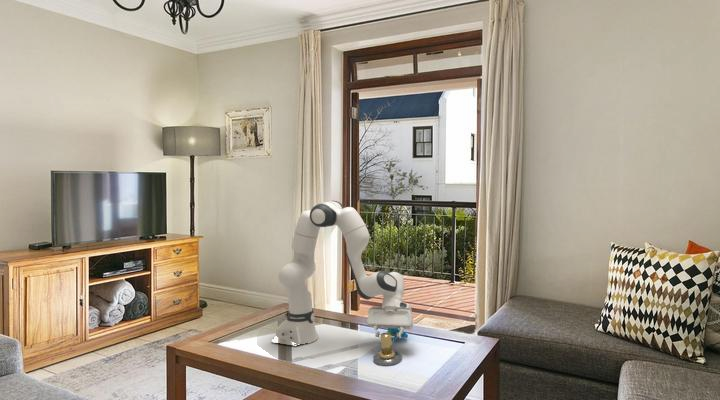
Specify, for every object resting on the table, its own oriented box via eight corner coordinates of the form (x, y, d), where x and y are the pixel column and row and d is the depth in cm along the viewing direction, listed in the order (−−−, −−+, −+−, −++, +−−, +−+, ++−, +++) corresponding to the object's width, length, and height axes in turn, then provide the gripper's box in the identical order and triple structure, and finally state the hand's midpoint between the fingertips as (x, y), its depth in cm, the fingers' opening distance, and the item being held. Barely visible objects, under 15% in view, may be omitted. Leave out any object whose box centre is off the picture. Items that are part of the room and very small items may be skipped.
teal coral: (412, 336, 207) (399, 325, 202) (408, 348, 204) (394, 337, 199) (395, 334, 215) (382, 323, 211) (391, 345, 212) (377, 335, 208)
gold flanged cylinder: (377, 359, 186) (376, 337, 185) (381, 352, 192) (380, 331, 191) (392, 360, 184) (391, 337, 183) (396, 353, 190) (394, 331, 189)
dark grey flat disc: (369, 364, 184) (369, 361, 184) (377, 352, 196) (377, 349, 196) (398, 366, 181) (398, 363, 180) (404, 354, 192) (404, 351, 192)
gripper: (367, 303, 200) (362, 332, 192) (412, 304, 194) (409, 335, 185) (371, 309, 205) (366, 338, 196) (415, 311, 198) (412, 341, 190)
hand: (387, 337), depth 191 cm, fingers open, 8 cm apart
